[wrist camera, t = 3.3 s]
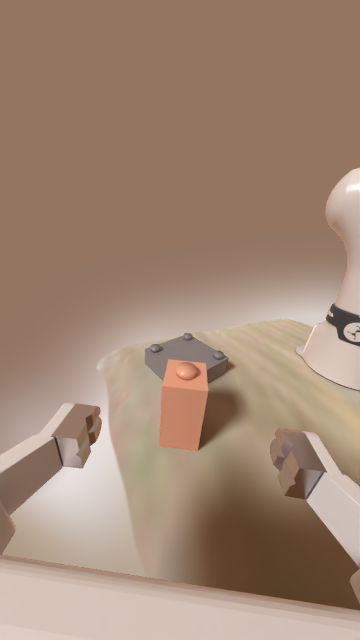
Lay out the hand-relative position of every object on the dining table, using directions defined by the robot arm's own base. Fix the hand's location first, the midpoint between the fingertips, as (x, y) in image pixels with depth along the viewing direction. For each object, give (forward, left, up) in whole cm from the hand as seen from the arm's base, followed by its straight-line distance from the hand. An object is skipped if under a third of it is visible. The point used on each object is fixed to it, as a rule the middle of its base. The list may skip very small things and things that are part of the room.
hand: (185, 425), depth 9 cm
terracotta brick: (-9, -9, -17) cm, 21 cm away
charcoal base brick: (-19, -19, -17) cm, 32 cm away
